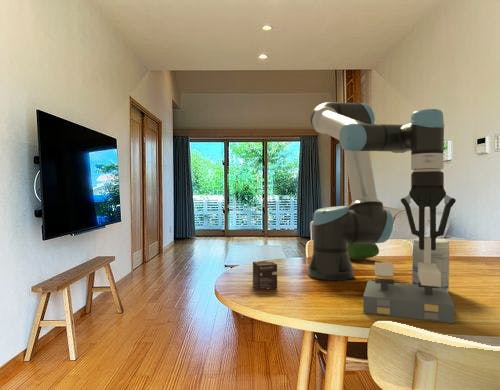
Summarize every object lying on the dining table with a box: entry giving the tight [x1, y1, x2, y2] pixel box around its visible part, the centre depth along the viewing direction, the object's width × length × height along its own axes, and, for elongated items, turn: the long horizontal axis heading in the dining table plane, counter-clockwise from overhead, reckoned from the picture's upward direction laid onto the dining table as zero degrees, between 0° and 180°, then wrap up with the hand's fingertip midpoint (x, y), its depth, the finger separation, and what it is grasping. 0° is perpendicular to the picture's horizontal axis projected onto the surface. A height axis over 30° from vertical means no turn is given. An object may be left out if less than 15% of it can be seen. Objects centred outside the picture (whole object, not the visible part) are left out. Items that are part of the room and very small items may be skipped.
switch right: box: [418, 263, 441, 287], centre depth 89 cm, size 4×14×3 cm, turn 158°
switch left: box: [374, 261, 394, 279], centre depth 93 cm, size 4×14×3 cm, turn 158°
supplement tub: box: [411, 237, 450, 293], centre depth 106 cm, size 10×10×15 cm
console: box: [362, 277, 455, 324], centre depth 91 cm, size 19×16×7 cm
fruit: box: [348, 243, 380, 261], centre depth 153 cm, size 15×10×10 cm, turn 47°
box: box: [252, 260, 278, 290], centre depth 110 cm, size 6×6×7 cm
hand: (427, 262), depth 94 cm, fingers closed
